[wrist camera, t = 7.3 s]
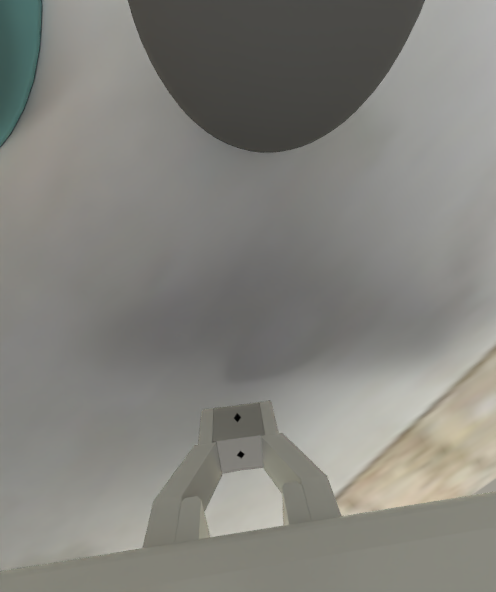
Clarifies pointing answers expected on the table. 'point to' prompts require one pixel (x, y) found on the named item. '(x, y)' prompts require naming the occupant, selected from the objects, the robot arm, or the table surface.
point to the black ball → (272, 62)
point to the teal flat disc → (17, 58)
